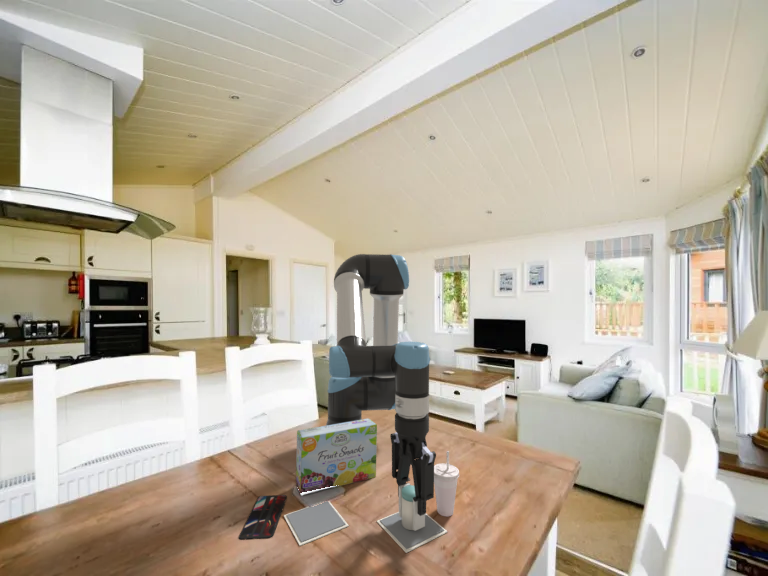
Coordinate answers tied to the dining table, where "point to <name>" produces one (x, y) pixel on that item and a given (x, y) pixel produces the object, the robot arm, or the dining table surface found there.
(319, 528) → the plate
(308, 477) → the snack box
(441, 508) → the smoothie
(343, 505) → the dining table surface
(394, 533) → the mat drink
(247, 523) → the smartphone
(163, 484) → the dining table surface
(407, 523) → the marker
